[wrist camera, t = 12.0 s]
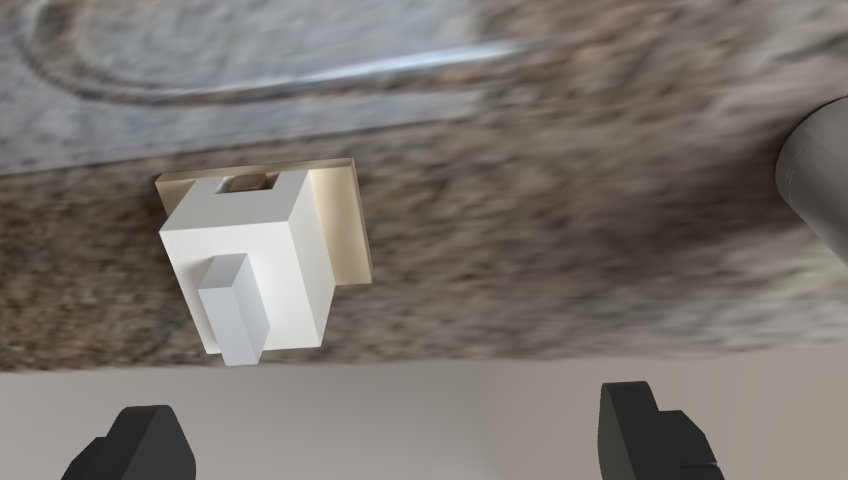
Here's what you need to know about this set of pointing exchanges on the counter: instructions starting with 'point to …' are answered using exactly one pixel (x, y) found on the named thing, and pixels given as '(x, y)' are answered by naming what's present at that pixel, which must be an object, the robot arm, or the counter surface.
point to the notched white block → (252, 266)
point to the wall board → (332, 196)
